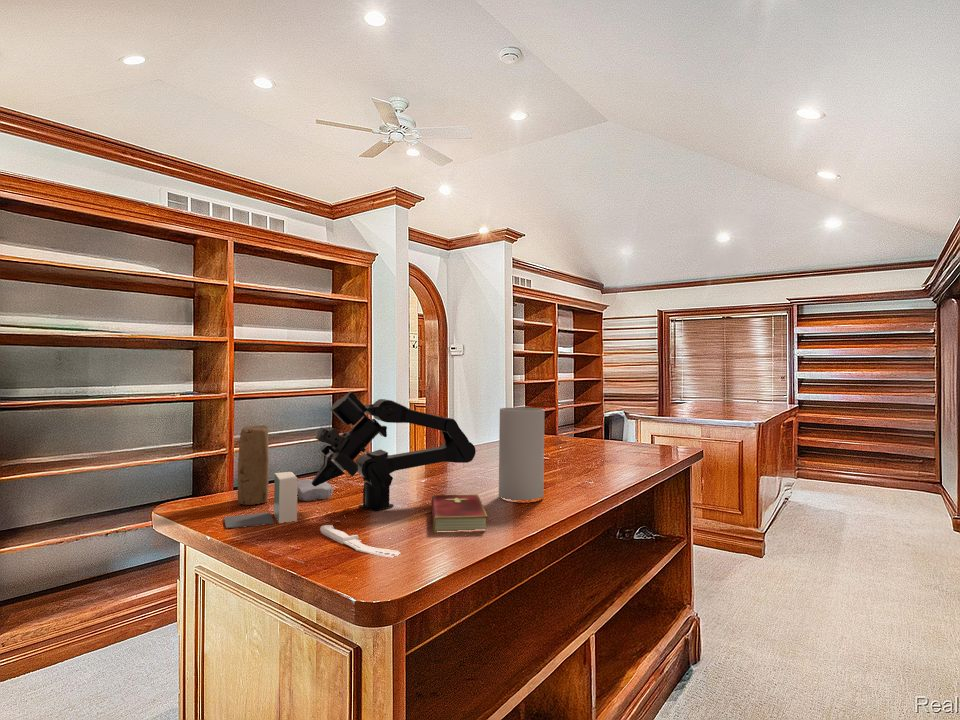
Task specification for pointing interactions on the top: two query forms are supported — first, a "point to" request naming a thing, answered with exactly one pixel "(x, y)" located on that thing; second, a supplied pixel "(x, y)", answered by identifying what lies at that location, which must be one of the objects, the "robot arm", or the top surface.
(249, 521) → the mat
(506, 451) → the cylinder vase
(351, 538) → the knife
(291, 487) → the off-white thick block
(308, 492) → the stone block
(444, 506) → the hardcover book
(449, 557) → the top surface
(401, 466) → the robot arm
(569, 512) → the top surface
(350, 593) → the top surface
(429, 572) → the top surface
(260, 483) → the block
